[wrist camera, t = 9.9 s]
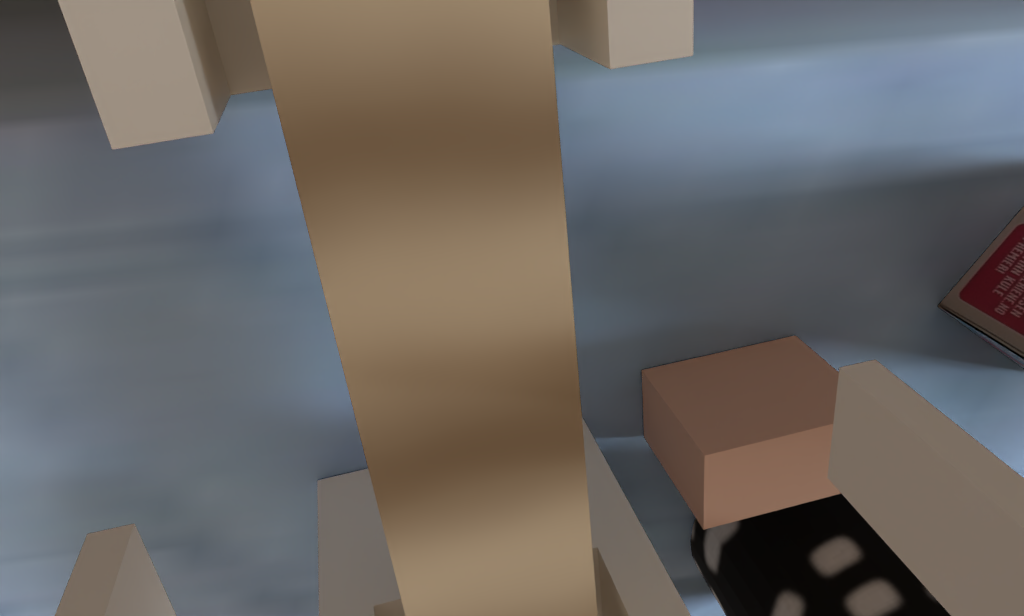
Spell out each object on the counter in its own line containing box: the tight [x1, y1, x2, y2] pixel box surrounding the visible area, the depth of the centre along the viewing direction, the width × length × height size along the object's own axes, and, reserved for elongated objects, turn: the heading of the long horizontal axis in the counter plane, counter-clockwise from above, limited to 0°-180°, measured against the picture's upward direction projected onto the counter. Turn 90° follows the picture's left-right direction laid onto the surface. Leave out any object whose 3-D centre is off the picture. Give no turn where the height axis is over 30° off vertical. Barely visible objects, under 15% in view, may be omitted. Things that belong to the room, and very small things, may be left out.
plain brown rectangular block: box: [642, 335, 841, 530], centre depth 22 cm, size 21×6×5 cm, turn 6°
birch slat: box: [250, 0, 598, 616], centre depth 17 cm, size 20×4×3 cm, turn 6°
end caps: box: [58, 0, 693, 616], centre depth 20 cm, size 27×10×9 cm, turn 6°
